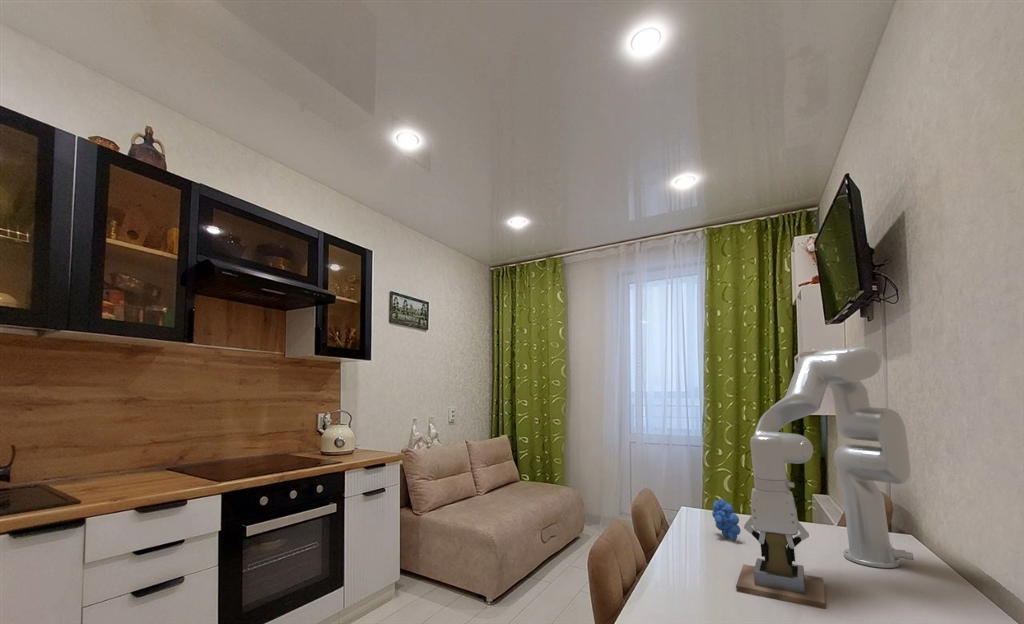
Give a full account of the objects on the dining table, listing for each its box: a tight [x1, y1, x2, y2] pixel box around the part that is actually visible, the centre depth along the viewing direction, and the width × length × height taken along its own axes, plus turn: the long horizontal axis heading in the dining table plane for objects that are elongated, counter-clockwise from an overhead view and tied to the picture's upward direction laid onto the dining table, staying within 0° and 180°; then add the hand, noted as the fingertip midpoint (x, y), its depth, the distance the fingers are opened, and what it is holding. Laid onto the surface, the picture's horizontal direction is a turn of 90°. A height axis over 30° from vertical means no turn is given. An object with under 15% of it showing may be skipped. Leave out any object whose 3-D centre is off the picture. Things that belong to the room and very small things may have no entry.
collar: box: [753, 558, 806, 594], centre depth 114 cm, size 10×10×3 cm
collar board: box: [735, 563, 826, 610], centre depth 114 cm, size 18×16×1 cm
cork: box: [765, 532, 794, 577], centre depth 115 cm, size 6×6×11 cm
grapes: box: [711, 498, 741, 541], centre depth 151 cm, size 12×7×12 cm, turn 16°
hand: (778, 561), depth 115 cm, fingers closed on cork, 4 cm apart
